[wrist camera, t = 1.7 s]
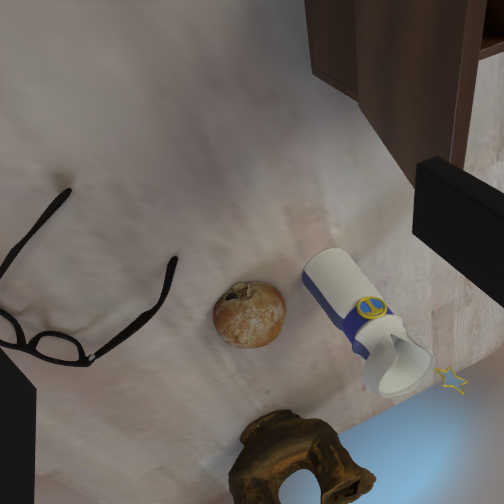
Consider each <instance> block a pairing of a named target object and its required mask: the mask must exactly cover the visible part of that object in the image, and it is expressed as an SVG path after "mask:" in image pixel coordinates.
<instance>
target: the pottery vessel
mask: <svg viewBox="0 0 504 504" xmlns="http://www.w3.org/2000/svg"><path fill="white" fill-rule="evenodd" d="M297 416H298V417H297ZM240 440H241V443H242V444H243V445H244V449H243V450H242V451H241V453H240V455H239V456H238V458H237V459H236V461H235V463H234V465H233V467H232V468H231V470H230V472H229V473H228V475H229V480H228V481H229V491H230V493H231V494H232V495H233V499H234V504H281V503H280V501H279V497H278V492H279V488H280V486H281V484H282V483H283V482H284V481H285V480H286V479H287V477H289V476H290V475H291V474H293V473H294V472H296V471H297V470H300V469H308V470H310V471H311V472H312V473H313V474H314V475H315V477H316V479H317V481H318V483H319V486H320V489H321V504H348V503H351V502H353V501H355V500H357V499H359V497H360V496H362V495H361V494H363V495H364V494H366V493H368V492H369V491H370V490H371V489H372V487H373V484H374V482H375V481H376V477H375V476H374V475H373V474H372V473H370V471H368V470H367V469H365V468H361V467H360V466H358V465H357V464H356V463H355V462H354V461H353V460H352V458H351V457H350V455H349V452H348V451H347V450H346V449H345V448H344V447H343V446H342V445H341V443H340V440H339V438H338V435H337V432H335V431H334V429H333V428H332V427H331V426H330V425H329V424H328V423H327V422H325V421H323V420H321V419H317V418H316V419H314V418H312V419H302V418H301V417H300V416H299V415H297V414H293V412H292V411H291V410H282V411H279V410H278V411H275V412H272V413H269V414H267V415H265V416H263V417H261V418H259V419H258V420H256V421H255V422H253V423H252V424H250V425H249V426H248V427H247V428H246V430H245V431H244V432H243V433H242V436H241V437H240Z"/></svg>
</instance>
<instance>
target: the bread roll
mask: <svg viewBox="0 0 504 504" xmlns="http://www.w3.org/2000/svg"><path fill="white" fill-rule="evenodd" d="M286 312H287V310H286V304H285V302H284V300H283V297H282V295H281V293H280V292H279V290H278V289H277V288H276V287H275V286H272V285H270V284H268V283H263V282H257V281H253V282H248V283H245V284H244V283H242V282H240V283H238V284H235V286H233V287H232V289H231V290H230V291H229V292H228V293H226V294H225V295H224V297H223V298H222V299H221V300H220V301H219V302H218V303H217V304H216V306H215V307H214V311H213V323H214V326H215V328H216V330H217V332H218V334H219V336H220V337H221V338H222V339H223V340H224V341H225V342H227V343H228V344H230V345H232V346H234V347H237V348H259V347H262V346H265V345H267V344H269V343H270V342H272V341H273V340H274V339H275V338H277V336H278V335H279V334H280V333H281V330H282V325H283V322H284V320H285V318H286Z"/></svg>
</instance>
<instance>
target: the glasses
mask: <svg viewBox="0 0 504 504" xmlns="http://www.w3.org/2000/svg"><path fill="white" fill-rule="evenodd" d="M71 192H72V189H71V188H67V189H66V190H64V191H63V192H62V193H60V194H59V195H58V196H57V197H56V198H55V199H54V200H53V202H52V203H51V204H50V205H49V206H48V208H47V209H46V210H45V211H44V213H43V214H42V215H41V217H40V218H39V219H38V221H37V222H36V223H35V225H34V226H33V227H32V229H31V230H30V231H29V232H28V233H27V235H26V236H25V237H24V238H23V239H22V240H21V241H20V242H19V243H18V244H16V245H15V246H14V247H13V248H12V249H11V251H10V252H9V254H8V255H7V257H6V258H5V260H4V261H3V263H2V265H1V266H0V279H1V278H2V276H3V275H4V273H5V272H6V270H7V269H8V267H9V266H10V264H11V263H12V262H13V260H14V259H15V257H16V256H17V254H18V253H19V252H20V250H21V249H22V248H23V246H24V245H25V244H26V243H27V242H28V240H29V239H30V238H31V237H32V236H33V235H34V234H35V233H36V232H37V230H38V229H39V228H40V227H41V226H42V225H43V224H44V223H45V222H46V221H47V220H48V219H49V218H50V217H51V216H52V214H53V213H54V212H55V211H56V210H57V209H58V208H59V207H60V206H61V205H62V204H63V202H64V201H65V200H66V199H67V198H68V196H69V195H70V194H71ZM177 261H178V257H176V256H174V257H172V258H171V260H170V261H169V263H168V265H167V269H166V274H165V280H164V285H163V289H162V293H161V296H160V299H159V301H158V303H157V304H156V305H155V306H154V307H153V308H152V309H150V310H148V311H146V312H143V313H142V314H141V315H140V316H139V317H138V318H137V319H136V320H134V321H133V322H132V323H131V324H130V325H129V326H127V327H126V328H125V329H124V330H123V331H121V332H120V333H119V334H118V335H116V336H115V337H114V338H113V339H112V340H110V341H109V342H108V343H107V344H105V345H104V346H103V347H102V348H100V349H99V350H98V351H97V352H95V353H94V354H93V355H92V354H91V355H89V356H88V357H86V356H85V353H84V350H83V347H82V346H81V344H80V343H79V342H78V341H77V340H76V339H75V338H73V337H71V336H69V335H66V334H63V333H59V332H53V331H44V332H41V333H39V334H37V335H36V336H35V337H33V338H32V339H31V340H30V342H29V343H28V344H26V340H25V336H24V333H23V330H22V328H21V326H20V324H19V323H18V321H17V320H16V319H15V318H14V317H12V316H11V315H10V314H8V313H7V312H6V311H4V310H2V309H0V315H2V316H3V317H5V318H6V319H7V320H9V321H10V322H11V323H12V324H13V326H14V328H15V331H16V336H17V344H11V343H8V342H5V341H2V340H0V346H3V347H6V348H10V349H15V350H20V351H23V352H26V353H29V354H31V355H33V356H35V357H37V358H39V359H42V360H44V361H47V362H50V363H54V364H59V365H64V366H73V367H89V366H90V365H91V364H92V363H93V362H94V361H95V360H96V359H98V358H99V357H101V356H102V355H104V354H105V353H107V352H108V351H110V350H111V349H113V348H114V347H116V346H117V345H119V344H120V343H121V342H123V341H124V340H126V339H127V338H128V337H130V336H131V335H132V334H134V333H135V332H136V331H137V330H139V329H140V328H141V327H142V326H143V325H145V324H146V323H147V322H148V321H149V320H150V319H151V318H152V317H153V316H154V315H155V314H156V312H157V311H158V310H159V308H160V307H161V306H162V304H163V302H164V301H165V299H166V297H167V295H168V292H169V290H170V287H171V283H172V279H173V275H174V272H175V268H176V265H177ZM43 336H55V337H59V338H63V339H66V340H69V341H71V342H73V343H74V344H75V345H76V346H77V349H78V353H79V360H78V361H64V360H59V359H54V358H51V357H48V356H45V355H43V354H41V353H39V352H38V351H37V350H36V346H37V344H38V342H39V340H40V339H41V337H43Z"/></svg>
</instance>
